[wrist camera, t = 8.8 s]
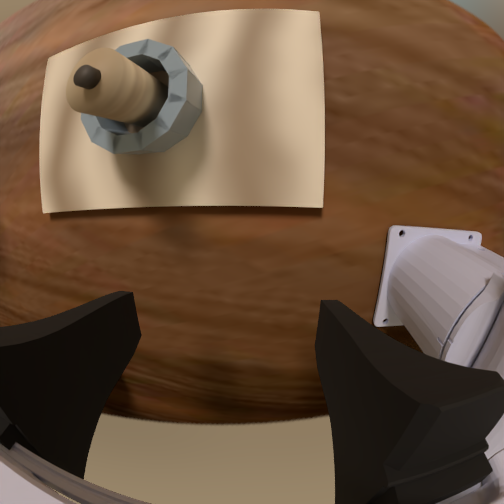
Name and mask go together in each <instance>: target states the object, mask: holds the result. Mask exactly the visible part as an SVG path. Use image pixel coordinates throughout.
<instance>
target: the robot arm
mask: <svg viewBox="0 0 504 504" xmlns="http://www.w3.org/2000/svg"><path fill="white" fill-rule="evenodd" d="M401 230H403V234H402V235H401V236H399V232H400V231H401ZM469 236H470V239H469ZM481 240H482V235H481V233H479V232H476V231H465V230H453V229H441V228H428V227H413V226H398V225H394V226H391V227H390V228H389V231H388V237H387V245H386V252H385V259H384V266H383V272H382V278H381V283H380V289H379V294H378V299H377V304H376V309H375V313H374V318H373V323H374V325H375V326H376V327H385V326H400V325H404V326H405V327H406V329H407V330H408V331H409V333H410V334H411V336H412V337H413V338H414V340H415V341H416V343H417V344H418V345H419V347H420V348H421V350H422V351H423V353H421V352H419V351H416V350H414V349H412V348H410V347H408V346H406V345H404V344H402V343H400V342H398V341H396V340H395V339H393V338H391V337H389V336H388V335H386V334H385V333H383V332H381V331H380V330H378V329H377V328H375V327H374V326H372V325H371V324H370V323H368V322H367V321H365V320H364V319H363V318H361V317H360V316H359V315H357V314H356V313H355V312H353V311H352V310H351V309H349V308H348V307H347V306H345V305H344V304H343V303H341V302H340V301H338V300H321V304H320V312H319V320H318V327H317V334H316V341H315V351H316V360H317V368H318V372H319V376H320V380H321V384H322V388H323V392H324V396H325V399H326V403H327V407H328V411H329V416H330V422H331V428H332V439H333V450H334V464H335V504H504V258H503V257H501V256H499V255H498V254H496V253H494V252H492V251H490V250H488V249H486V248H484V247H482V246H480V245H481ZM384 319H387V320H386V321H385V322H383V320H384ZM140 338H141V331H140V327H139V322H138V317H137V312H136V307H135V302H134V296H133V292H125V291H118V292H114V293H111V294H108V295H105V296H103V297H100V298H98V299H95V300H93V301H90V302H88V303H85V304H83V305H81V306H78V307H76V308H73V309H70V310H68V311H65V312H62V313H60V314H57V315H54V316H51V317H48V318H45V319H41V320H37V321H34V322H29V323H24V324H19V325H13V326H6V327H0V504H76V503H74V502H72V501H70V500H68V499H67V498H65V497H63V496H61V495H59V494H58V493H57V492H56V491H58V492H60V493H62V494H63V495H65V496H67V497H69V498H71V499H73V500H75V501H77V502H79V503H81V504H151V503H147V502H143V501H140V500H136V499H133V498H130V497H127V496H124V495H121V494H118V493H116V492H113V491H110V490H107V489H104V488H102V487H100V486H97V485H95V484H92V483H90V482H88V481H85V480H84V473H85V467H86V462H87V457H88V453H89V449H90V445H91V441H92V438H93V435H94V432H95V429H96V426H97V423H98V420H99V417H100V415H101V413H102V410H103V408H104V405H105V403H106V401H107V399H108V397H109V395H110V393H111V391H112V390H113V388H114V386H115V385H116V383H117V381H118V380H119V378H120V376H121V375H122V373H123V371H124V370H125V368H126V366H127V365H128V363H129V361H130V360H131V358H132V356H133V355H134V352H135V350H136V348H137V345H138V343H139V340H140ZM48 486H49V487H48ZM50 487H51V488H52V489H51V488H50ZM53 489H54V490H56V491H54V490H53Z"/></svg>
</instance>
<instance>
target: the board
mask: <svg viewBox="0 0 504 504" xmlns="http://www.w3.org/2000/svg"><path fill="white" fill-rule="evenodd" d="M145 39H150V40H153V41H157V42H160V43H163V44H166V45H169V46H173V47H174V48H175V49H176V50H177V51H178V53H179V54H180V55H181V56H182V57H183V58H184V59H185V61H186V62H187V63H188V64H189V65H190V67H191V68H192V70H193V72H194V73H195V75H196V76H197V78H198V79H199V81H200V82H201V84H202V85H203V88H202V112H201V114H200V116H199V117H198V119H197V121H196V123H195V124H194V126H193V128H192V130H191V131H190V133H189V135H188V137H186V138H184V139H183V140H181V141H180V142H178V143H177V144H175V145H174V146H172V147H171V148H169V149H168V150H167V151H165V152H158V153H148V154H140V155H138V154H113V153H111V152H109V151H107V150H105V149H104V148H102V147H100V146H98V145H96V144H94V143H92V142H91V140H90V138H89V136H88V134H87V132H86V130H85V127H84V125H83V123H82V121H81V113H79V112H76V111H74V110H73V109H72V108H71V107H70V106H69V104H68V101H67V98H66V86H67V82H68V79H69V76H70V74H71V72H72V70H73V68H74V67H75V65H76V64H77V63H78V62H79V61H80V60H81V59H82V58H83V57H84V56H85V55H86V54H88V53H89V52H91V51H93V50H95V49H98V48H111V49H114V50H116V49H117V48H118V47H119V46H122V45H125V44H129V43H133V42H137V41H141V40H145ZM149 74H151V75H152V76H154V77H155V78H156V79H158V80H159V81H161V82H162V83H163V84H165V85H166V86H168V87H169V75H168V73H167V72H165V71H158V72H153V73H149ZM124 124H125V126H126V128H127V130H128V131H129V133H137V132H139V131H140V130H141V129H143V127H139V126H135V125H132V124H128V123H124ZM324 159H325V105H324V74H323V54H322V40H321V27H320V16H319V12H315V11H304V10H290V9H237V10H223V11H212V12H203V13H195V14H188V15H182V16H176V17H171V18H166V19H161V20H156V21H152V22H148V23H143V24H140V25H136V26H132V27H128V28H125V29H122V30H118V31H115V32H112V33H109V34H106V35H103V36H100V37H97V38H95V39H92V40H89V41H87V42H84V43H81V44H79V45H77V46H74V47H72V48H69V49H67V50H65V51H63V52H61V53H58V54H56V55H54V56H52V57H50V58H48V63H47V68H46V75H45V81H44V89H43V97H42V107H41V121H40V184H41V198H42V209H43V213H51V212H63V211H77V210H92V209H110V208H132V207H161V206H284V207H314V208H323V193H324Z"/></svg>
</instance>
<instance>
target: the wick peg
mask: <svg viewBox="0 0 504 504" xmlns="http://www.w3.org/2000/svg"><path fill="white" fill-rule="evenodd" d="M168 89H169V87H168V86H166V85H165V84H163V83H162V82H161V81H159V80H158V79H156V78H155V77H154V76H152V75H151V74H149V73H148V72H147V71H145V70H144V69H142V68H141V67H139V66H138V65H136V64H135V63H133V62H132V61H131V60H129V59H128V58H126V57H125V56H123V55H121V54H120V53H118V52H117V51H115V50H114V49H111V48H98V49H95V50H93V51H91V52H89V53H88V54H86V55H85V56H84V57H83V58H82V59H81V60H80V61H79V62H78V63H77V64H76V65H75V67H74V68H73V70H72V72H71V74H70V76H69V79H68V82H67V86H66V98H67V101H68V104H69V106H70V107H71V108H72V109H73V110H74V111H76V112H79V113H84V114H89V115H94V116H98V117H103V118H107V119H111V120H115V121H120V122H124V123H128V124H132V125H135V126H139V127H143V128H144V127H145V126H147V125H148V124H149V123H151V122H152V121H153V120H155V119H156V118H157V116H158V114H159V112H160V111H161V109H162V107H163V105H164V104H165V102H166V100H167V98H168Z"/></svg>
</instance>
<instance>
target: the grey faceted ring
mask: <svg viewBox="0 0 504 504" xmlns="http://www.w3.org/2000/svg"><path fill="white" fill-rule="evenodd" d="M115 51H117V52H118V53H120V54H121V55H123V56H125V57H126V58H128V59H129V60H131V61H132V62H133V63H135V64H136V65H138V66H139V67H141V68H142V69H144V70H145V71H147V72H148V73H153V72H158V71H165V72H167V73H168V75H169V89H168V98H167V100H166V102H165V104H164V105H163V107H162V109H161V111H160V112H159V114H158V116H157V118H156V119H155V120H153V121H152V122H151V123H149V124H148V125H147V126H145V127H144V128H143V129H141V130H140V131H139V132H137V133H129V131H128V130H127V128H126V126H125V124H124V122H120V121H115V120H111V119H107V118H103V117H98V116H94V115H89V114H84V113H81V121H82V123H83V125H84V127H85V130H86V132H87V134H88V136H89V138H90V140H91V142H92V143H94V144H96V145H98V146H100V147H102V148H104V149H105V150H107V151H109V152H111V153H113V154H138V155H140V154H148V153H158V152H165V151H167V150H168V149H169V148H171V147H172V146H174V145H175V144H177V143H178V142H180V141H181V140H183V139H184V138H186V137H188V135H189V133H190V131H191V130H192V128H193V126H194V124H195V123H196V121H197V119H198V117H199V116H200V114H201V112H202V88H203V85H202V84H201V82H200V81H199V79H198V78H197V76H196V75H195V73H194V72H193V70H192V68H191V67H190V65H189V64H188V63H187V62H186V61H185V59H184V58H183V57H182V56H181V55H180V54H179V53H178V51H177V50H176V49H175V48H174V47H173V46H169V45H166V44H163V43H160V42H157V41H153V40H150V39H145V40H141V41H137V42H133V43H129V44H125V45H122V46H119V47H118V48H117V49H116V50H115Z"/></svg>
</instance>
